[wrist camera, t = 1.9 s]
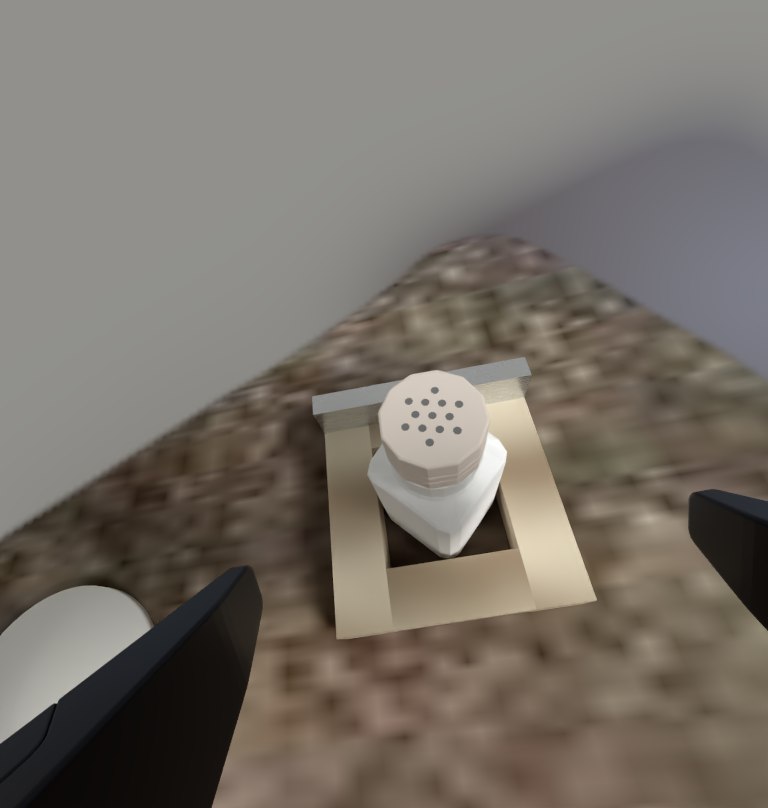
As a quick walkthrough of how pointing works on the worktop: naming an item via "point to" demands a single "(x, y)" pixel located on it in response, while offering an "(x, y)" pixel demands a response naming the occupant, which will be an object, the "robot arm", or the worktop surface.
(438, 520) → the pepper shaker
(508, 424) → the square wooden frame
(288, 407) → the worktop surface
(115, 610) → the coaster
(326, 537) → the worktop surface
